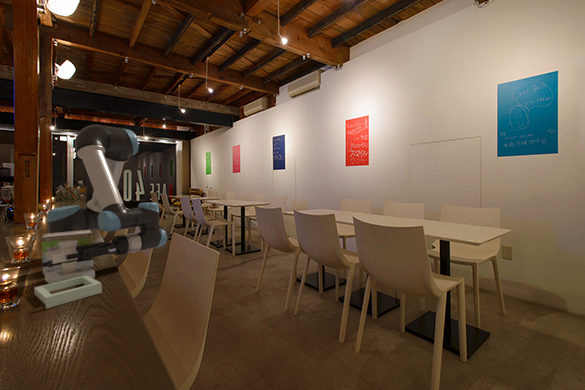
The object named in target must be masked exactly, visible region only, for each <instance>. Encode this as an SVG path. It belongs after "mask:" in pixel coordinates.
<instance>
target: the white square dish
mask: <svg viewBox="0 0 585 390" xmlns="http://www.w3.org/2000/svg"><path fill="white" fill-rule="evenodd" d="M77 271H79V272H76V273H71V274H67V275H62V276H61V274H62V270H57V271H52V272H48V273H45V275H44V281H45V282H47V284H51V283H55V282H59V281H63V280H68V279H72V278H76V277H80V276H85V275H87V276H89V277H91V278H93V279H95V278H96V271H95V269H93V268H92V267H87V266H85V265H81V266H77Z"/></svg>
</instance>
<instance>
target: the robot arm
mask: <svg viewBox="0 0 585 390" xmlns="http://www.w3.org/2000/svg"><path fill="white" fill-rule="evenodd" d="M139 145H140V144H139V140H138V137H137V135H136V134H135V132H134V131H133V130H130V129H127V128H123V127H115V126H107V125H101V124H90V125H87V126H85V127H83V128H81V130H79V132H78V133H77V135H76V137H75V139H74V149H75V153H76V156H77V157H78V158H79V159H80V160H82V163H83V165H84V168H85V170H86V173H87V175H88V178H89V181H90V182H91V185H92V188H93V193H92V198H91V199H89V201H87V202H86V205H85V207H80V205H78V204H77V205H76V204H74V205H68V206H67V205H66V206H62V207H61V206H60V207H56V208H53V209H49V210H48V211H47V214H46V224H47V234H48V233H59V232H70V231H82V230H90V231H91V232H94V231H95V232H96V231H103V232H116V231H119V230H126V229H134V228H139V232H132V233H127V234H119V235H115V236H113V237H112V238H111V241H110V242H108V241H97V242H92V244H86V245H80V246H77V247H76V251H73V252H67V253H61V250H56V251H50V252H46V258H47V260H52V262H53V264H55V263H60V262H65V261H70V260H75V259H78V258H79V259H82V258H83V259H88V258H93V259H94V258H96V257H102V256H106V255H110V254H111V255H112V254H114V255H115V256H122V255H126V254H130V253H132V254H136V252H140V251H141V252H142V251H145V250H151V249H156V248H160V247H164V246H165V245H166V244H167V241H168V235H167V232H166V230H165V229H162V228H161V227H160V208H159V207H160V206H159V204H158V202H154V201H153V202H151V201H150V202H140V203H138V207H135V208H134V207H133V208H126V207H125V203H124V202H123V199H122V197H121V194H120V191H119V188H118V185H119V182H120V178H121V175H122V171H123V168H124V164H125V163H127V162H129V160H130V158H131V156H135V155H136V154H137V153H138V152H139Z"/></svg>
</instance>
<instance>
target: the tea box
mask: <svg viewBox="0 0 585 390" xmlns="http://www.w3.org/2000/svg"><path fill="white" fill-rule="evenodd" d="M66 240H77V243H78V246H80V245H86V244H93V232H92V231H90V230H82V231H70V232H59V233H48V232H47V233H43V234H42V236H41V259H42V263H41V265H42V275H44V276H45V273H48V272H52V271H57V270H62V262H60V263H55V264H53V262H52V260H47V258H46V252H50V251H56V250H61V249H59V243H58V242H60V241H66ZM81 265H85V266H87V267H89V268H92V267H94V257H93V258H88V259H83V258H82V259H79V258H78V259H77V266H81Z"/></svg>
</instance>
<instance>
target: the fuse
mask: <svg viewBox="0 0 585 390" xmlns="http://www.w3.org/2000/svg"><path fill="white" fill-rule="evenodd" d="M58 243H59V249H61V253H67V252H73V251H76V247H77V246H78V243H77V240H66V241H60V242H58ZM76 272H79V271H77V259H75V260H70V261H65V262H62V274H61V276H62V275H67V274H71V273H76Z"/></svg>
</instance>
